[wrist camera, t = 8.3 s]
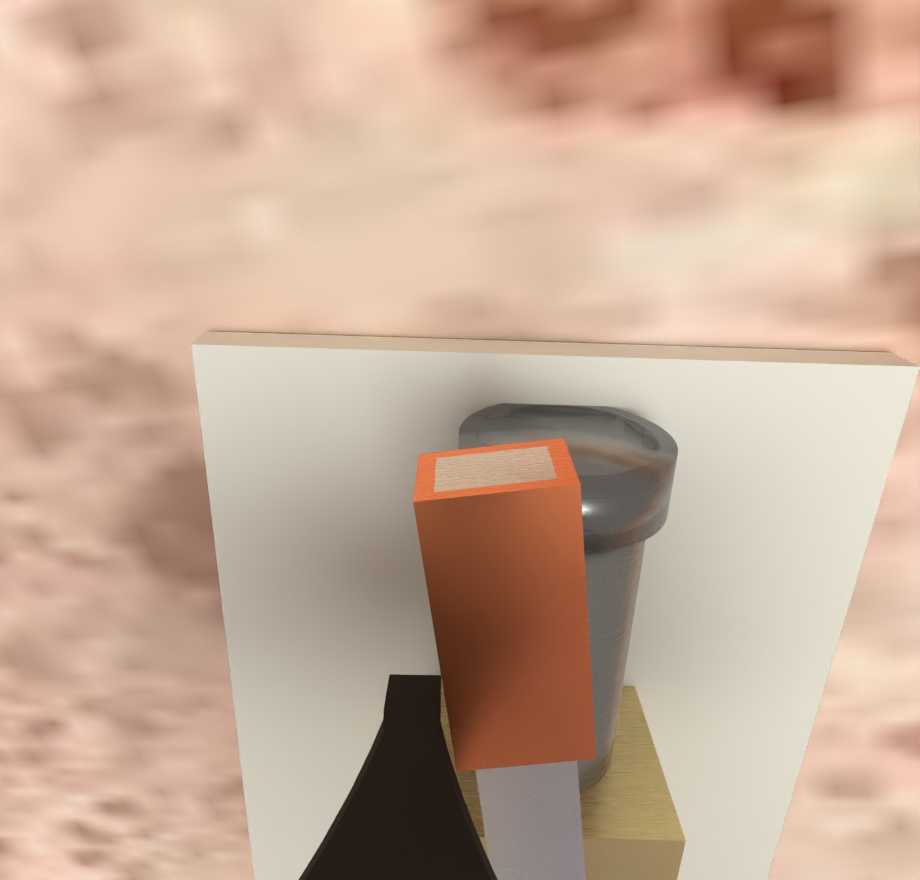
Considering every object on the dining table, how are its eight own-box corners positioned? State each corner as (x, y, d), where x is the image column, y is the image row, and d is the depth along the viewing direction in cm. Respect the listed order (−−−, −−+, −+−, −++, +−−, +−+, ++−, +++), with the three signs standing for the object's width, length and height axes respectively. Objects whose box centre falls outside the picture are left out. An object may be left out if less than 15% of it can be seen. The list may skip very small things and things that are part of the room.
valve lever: (597, 946, 14) (615, 1048, 12) (495, 955, 14) (501, 1057, 12) (563, 438, 10) (584, 495, 8) (418, 453, 10) (411, 514, 8)
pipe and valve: (585, 966, 21) (614, 1155, 17) (418, 964, 21) (410, 1153, 17) (676, 403, 14) (761, 503, 10) (428, 396, 14) (417, 494, 10)
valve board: (719, 964, 22) (731, 1000, 21) (275, 958, 22) (267, 994, 21) (890, 352, 15) (919, 366, 14) (208, 331, 14) (191, 344, 13)
